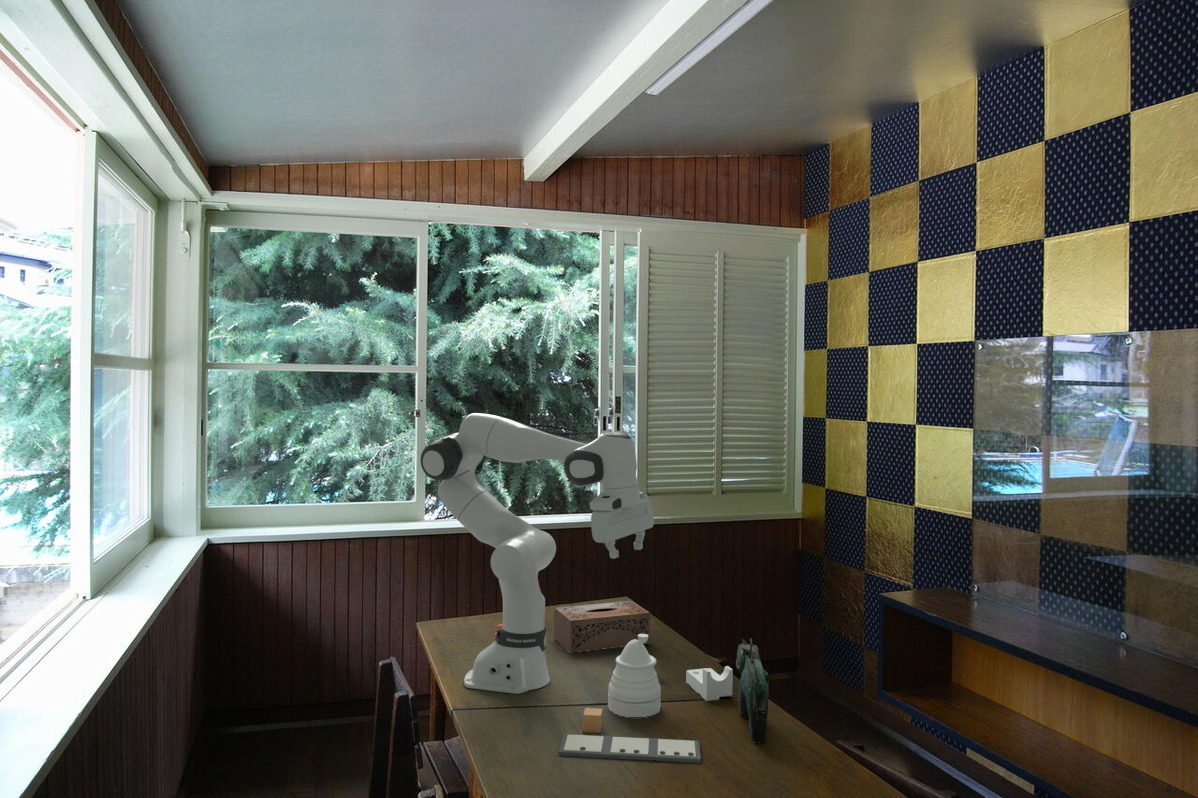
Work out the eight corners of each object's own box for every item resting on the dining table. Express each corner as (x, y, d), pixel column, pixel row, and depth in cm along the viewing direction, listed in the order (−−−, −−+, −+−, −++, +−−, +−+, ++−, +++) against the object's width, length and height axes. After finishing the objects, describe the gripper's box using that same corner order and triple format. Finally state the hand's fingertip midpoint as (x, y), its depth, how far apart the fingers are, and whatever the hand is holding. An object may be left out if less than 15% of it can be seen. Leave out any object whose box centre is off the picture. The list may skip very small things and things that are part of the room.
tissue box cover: (630, 631, 264) (630, 600, 263) (649, 645, 250) (650, 612, 250) (553, 639, 254) (554, 607, 254) (569, 654, 241) (570, 620, 240)
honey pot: (666, 701, 205) (667, 630, 205) (652, 721, 193) (653, 645, 193) (617, 694, 209) (618, 624, 209) (600, 713, 197) (602, 639, 197)
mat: (558, 755, 175) (558, 749, 175) (563, 737, 184) (563, 732, 184) (700, 763, 172) (700, 757, 172) (698, 744, 181) (699, 738, 181)
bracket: (732, 699, 208) (732, 669, 208) (706, 701, 206) (707, 671, 206) (710, 681, 221) (711, 653, 221) (686, 683, 219) (686, 655, 219)
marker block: (583, 732, 187) (583, 714, 187) (584, 724, 191) (585, 707, 191) (600, 733, 186) (601, 715, 186) (602, 725, 190) (602, 708, 190)
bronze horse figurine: (733, 709, 201) (735, 628, 201) (760, 710, 201) (761, 628, 201) (745, 745, 181) (747, 654, 181) (775, 745, 181) (776, 655, 181)
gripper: (637, 490, 211) (642, 543, 212) (584, 504, 196) (590, 561, 196) (657, 490, 207) (662, 545, 207) (605, 505, 192) (610, 564, 192)
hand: (626, 553), depth 202 cm, fingers open, 8 cm apart
